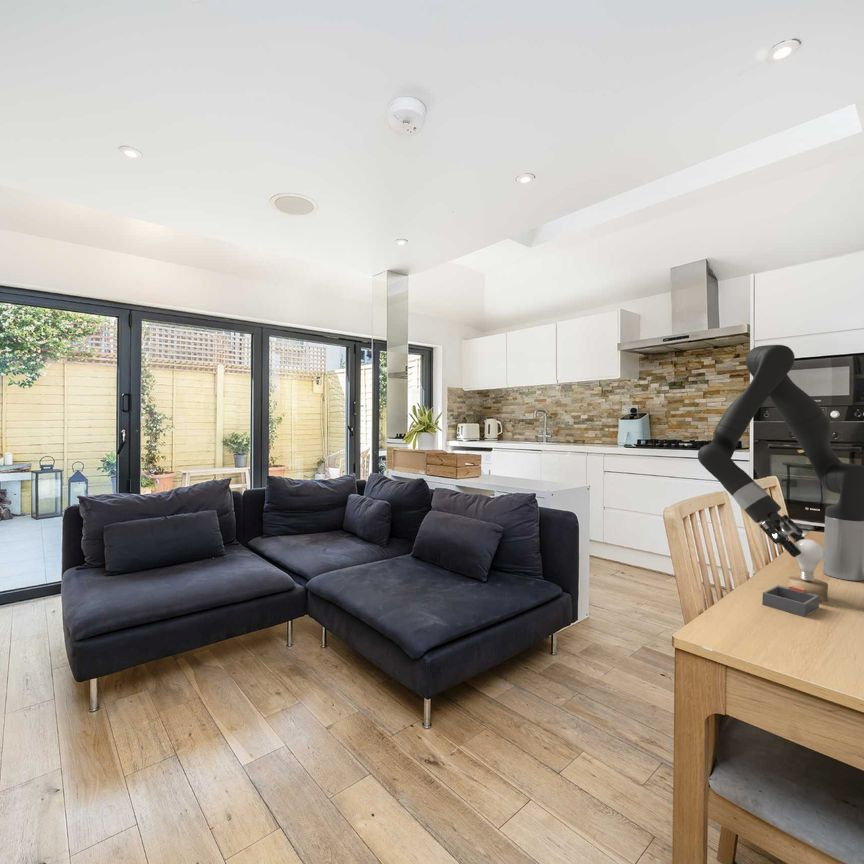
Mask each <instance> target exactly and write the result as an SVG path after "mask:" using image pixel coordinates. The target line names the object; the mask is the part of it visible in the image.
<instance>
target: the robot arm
mask: <svg viewBox="0 0 864 864" xmlns="http://www.w3.org/2000/svg"><path fill="white" fill-rule="evenodd" d="M745 357H746V358H745V366H746V369H747V371H748V372H749V373H750V374H751V375H750V376H752V377H753V379H751V381H750V383H749V384H748V386H747V387H746V389H744V390H743V392H742V393H740V395H738V397H737V398H736V399H734V401H732V403H731V404H730V405H729V406H728V407H727V408H726V410H725V411H724V413H723V414H722V416H721V418H720V419H719V421H718V422H717V424H716V426H715V428H714V431H713V434H714V436H713V439H712V440H711V441H710V443H708V444H704V445H703V446H701V447H700V449H699V450H698V451H697V459H698V461H699V463H700V464H701V465H702V467H703V468H705V469H706V470H707V472H709V473H710V474H711V475H712V476H713V477H714V478H715V479H716V480H718V482H720V484H721V485H722V487H723V488H724V489H725V490H726V491H727V492H728V493H729V494H730V496H732V498H733V499H734V501H735V502H736V503H737V505H739V507H740V508H741V509H742V510H743V511H744V512H745V513H746V514H747V515H748V517H750V519H751V520H752V521H753V522H754V523H756V524H758V526H759V528H761V530H762V531H763V532H764V533H765V534H766V535H767V537H768V538H770V539H769V540H771V541H772V542H773V544H775V545H780V546H782V548H784V549H785V550H786V551H787V553H789V555H790V556H791V557H793V558H796V556H798V555H799V554H801V551H800V550H799V549H798V548H797V547H796V546H795V545H794V544H795V543H796V542H797V541H799V540H801V539H806V537H804V536H803V533H804V531H803V530H802V529H801V528H800V527H799V526H798V525H797V524H796V523H795V522H794V521H793V520H792V519H791V518H790V517H789V516H788V515H787V514H784V515H782V516H781V514H779V511H781V510H782V507H781V505H780V504H779V503H778V502H777V501H776V500H774V498H773V497H772V496H771V495H770V494H769V493H768V492H767V491H766V490H765V489H764V488H763V487H762V486H761V485H759V484H758V483H757V482H756V481H755V479H753V478H752V477H751V476H750V475H749V474H748V473H747V472H746V471H745V470H744V469H742V468H741V467H739V466H738V465H737V463H735V461H733V460H732V457H733V455H734V453H735V450H736V448H737V446H738V444H739V443H738V442H739V441H740V439H741V438H742V436H743V435H744V433H745V431H746V430H747V428H748V426H749V425H750V423H751V421H752V420H753V418H754V417H755V415H756V414H757V412H758V411H759V409H760V408H761V406H762V405H763V404H764V402H765V401H766V400H767V399H768V397H769V398H770V400H771V402H772V404H773V405H774V407H775V409H776V410H777V412H778V413H779V414H780V416H781V418H782V419H783V421H784V423H785V424H786V426H787V428H788V429H789V431H790V433H791V434H792V435H793V436H794V438H795V439H796V441H797V443H798V444H799V446H800V447H801V449H802V451H803V452H804V454H805V456H806V457H807V459H808V461H809V462H810V465H811V466H812V470H813V471H814V473H815V475H816V477H817V479H818V481H819V483H820V485H822V487H823V488H824V489H825V490H826V491H829V492H831V493H834V494H839V500H838V502H837V503H835V504H830V505H828V506H826V507H825V510H824V511H825V513H824V514H825V515H824V534H823V535H824V536H823V551H824V556H823V559H822V573H823V574H824V575H827V576H829V577H833V578H836V579H841V580H847V581H864V465H862V464H855V463H846V462H842V461H841V460H840V459H839V457H838V456H837V455H836V453H835V451H834V450H833V448H832V446H831V436H832V426H831V422H830V420H829V419H828V417H827V415H826V414H825V412H824V411H823V409H822V408H821V406H820V405H819V403H817V401H816V400H815V399H814V398H812V397H811V396H810V395H809V394H808V393H806V392H805V391H804V390H802V389H801V388H800V387H799V386H798V385H797V384H796V383H794V382H793V381H792V379H791V378H790V377H789V372H790V371H791V369H792V368H793V366H794V363H795V361H796V360H795V359H796V357H795V353H794V352H793V350H792V349H791V348H790V347H789V346H787V345H783V344H767V345H766V344H765V345H759V346H756V347H753V348H752V349H750V350H749V351H748V353H747V355H746V356H745ZM790 539H791V540H793V541H794V542H795V543H793V542H792V541H791V540H790Z"/></svg>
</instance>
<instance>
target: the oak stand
mask: <svg viewBox="0 0 864 864" xmlns="http://www.w3.org/2000/svg"><path fill="white" fill-rule="evenodd" d="M800 576H801V575H791V576H788V588H789V586H795V587H799V588H803V589H805V592H807V593H811V594H815V595H819V604H820V603H826V602H828V598H829V597H828V596H829V595H828V594H829V593H828V592H829V584H828V583H827V582H826V581H823V580H821V579H818V578H814V577H813V581H809V582H806V581H804V580H803V579H801V578H800Z"/></svg>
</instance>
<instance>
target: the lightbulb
mask: <svg viewBox="0 0 864 864" xmlns="http://www.w3.org/2000/svg"><path fill="white" fill-rule="evenodd" d="M793 544H794V545H795V546H796V547H797V548H798V549H799V550H800V551H801V554H799V555H798V556H796V557H795V559H796V560H797V562H798V565H799V566H798V567H799V568H800V575H799V576H800V578H801V579H803V580H804V581H806V582H809V581H813V578H814V573H815V570H816V568H817V566H818V565H819V563H820V562H821V561H823V556H824V547H823V546H822V545H821V544H820V543H819V542H818V541H816V540H813V539H810V538H805V539H801V540H799V541H797V542H795V543H793Z"/></svg>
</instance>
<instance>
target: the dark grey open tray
mask: <svg viewBox="0 0 864 864" xmlns="http://www.w3.org/2000/svg"><path fill="white" fill-rule="evenodd" d="M761 601H762V606H766V607H769V608H773V609H775V610H780V611H783V612H785V613H789V614H793V615H795V616H796V615H797V616H800V617H803V618H805V617H807V616H808V615H810V614H811V613H813V612H815V611H816V610H818V609H819V608H820V603H819V595H815V594H811V593H807V592H805V589H803V588H799V587H795V586H789V588H788V587H786V586H783V585H779V584H777V585H776V586H774V587H772V588H769V589H767V590H765V591H763V592H762V599H761Z"/></svg>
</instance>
